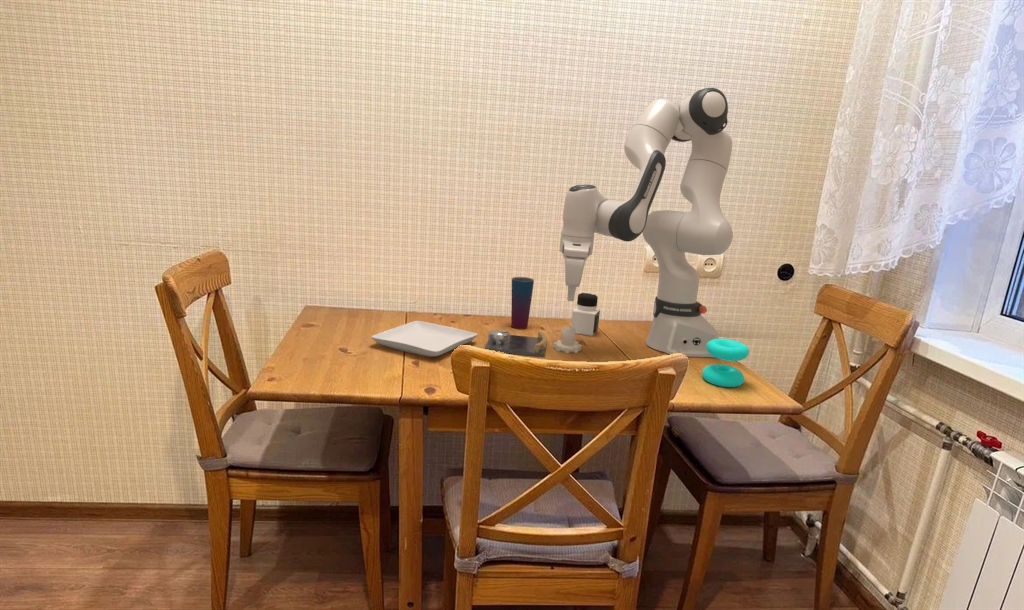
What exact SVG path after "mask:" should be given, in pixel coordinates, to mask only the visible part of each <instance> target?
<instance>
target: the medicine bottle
mask: <svg viewBox="0 0 1024 610" xmlns="http://www.w3.org/2000/svg"><path fill="white" fill-rule="evenodd" d="M598 299H599V297H598V295H597V294H595V293H591V292H582V293H581V292H580V293H578V295H577V299H576V300H577V301H576V307H575V308H574V309H572V314H571V315H572V316H571V324H570V327H573V328H575V329H576V330H575V335H582V336H583V335H584V336H587V337H588V336H590V337H594V336H595V334H596V333H597V332H598V330H599V322H600V321H599V320H600V315H601V309H600V308H598Z"/></svg>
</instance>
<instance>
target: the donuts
mask: <svg viewBox="0 0 1024 610" xmlns="http://www.w3.org/2000/svg"><path fill="white" fill-rule="evenodd" d="M706 348H707V351H708V352H709V353H710V354H711V355H712V356H714V357H713V358H716V359H719V360H723V361H728V362H739V361H742V360H745V359H746V358H747V357H748V356H749V354H750V350H749V348H748V346H747V345H746V344H744V343H742V342H740V341H736V340H732V339H726V338H719V339H713V340H710V341H709V342H708V343H707V345H706ZM701 372H702V373H701V374H702V378H703V379H704V380H705V381H706V382H708V383H709V384H711V385H715V386H718V387H723V388H736V387H737V388H738V387H740V386H741V385H742V384H744V382H745V376H744V373H743V372H742V371H741V370H740V369H738V368H736V367H734V366H731V365H728V364H721V363H713V364H709V365H706V366H705V367H704V368H703V369H702V371H701Z"/></svg>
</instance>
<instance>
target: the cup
mask: <svg viewBox="0 0 1024 610" xmlns="http://www.w3.org/2000/svg"><path fill="white" fill-rule="evenodd" d="M534 284H535V279H534V278H532V277H528V276H513V277H512V278H511V311H510V312H511V315H510V316H511V318H510V320H511V323H510V324H511V328H514V329H519V330H525V329H527V328H528V327H529V319H530V312H531V305H532V299H533V298H532V297H533V290H534Z"/></svg>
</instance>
